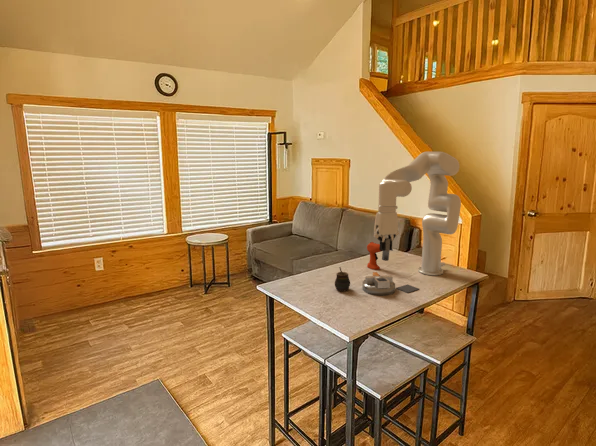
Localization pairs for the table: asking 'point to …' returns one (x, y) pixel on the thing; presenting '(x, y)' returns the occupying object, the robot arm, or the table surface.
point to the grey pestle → (386, 249)
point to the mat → (407, 288)
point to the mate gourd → (342, 281)
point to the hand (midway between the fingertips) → (385, 249)
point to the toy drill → (373, 255)
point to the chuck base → (375, 291)
